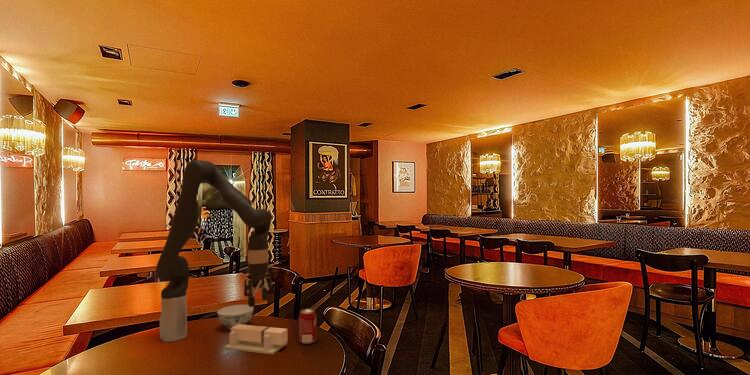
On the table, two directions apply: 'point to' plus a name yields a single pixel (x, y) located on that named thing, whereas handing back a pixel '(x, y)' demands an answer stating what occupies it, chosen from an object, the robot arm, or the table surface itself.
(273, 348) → the cream footed plank
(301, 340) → the soda can
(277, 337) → the beige bar
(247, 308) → the chinaware
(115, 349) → the table surface
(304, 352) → the table surface
